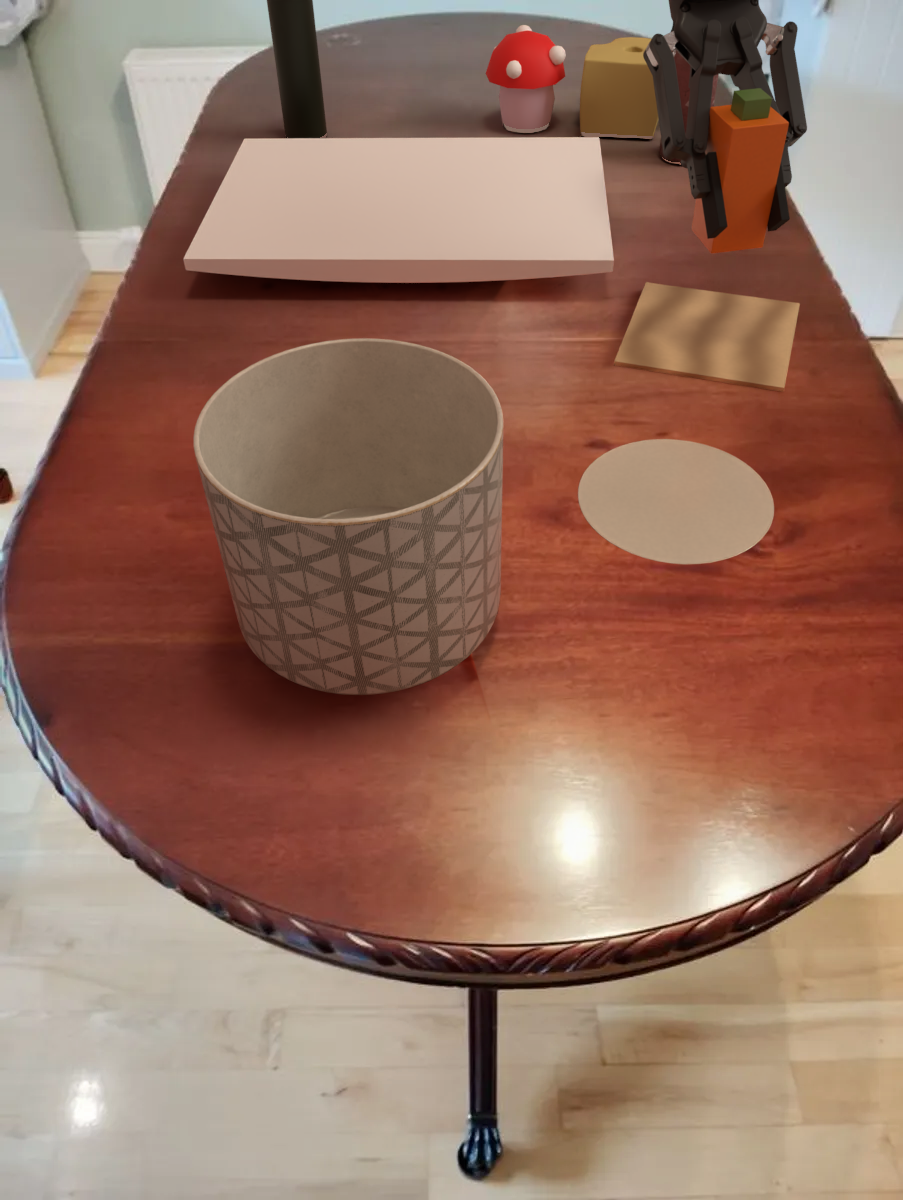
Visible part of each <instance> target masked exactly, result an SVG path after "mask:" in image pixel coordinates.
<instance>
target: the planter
mask: <svg viewBox="0 0 903 1200" xmlns="http://www.w3.org/2000/svg"><path fill="white" fill-rule="evenodd" d="M504 424H505V423H504V414H503V409H502V405H501V402H500V400H499V397H498V395H497V394H496V392H495V390H494V388H493V387H492V386H491V384H489V382H488V381H487V380H486V379H485V378H484V377H483V376H482V375H481V374H480V373H479V372H478V371H477V370H475V369H474V368H473V367H471V366H470V365H468V364H467V363H465V362H464V361H462V360H460V359H458V358H456V357H454V356H452V355H451V354H448V353H446V352H443V351H441V350H438V349H436V348H432V347H429V346H425V345H422V344H418V343H413V342H409V341H403V340H397V339H396V340H395V339H387V338H371V337H370V338H367V337H363V338H362V337H361V338H343V339H342V338H341V339H332V340H325V341H320V342H314V343H308V344H305V345H301V346H300V345H299V346H296V347H292V348H290V349H286V350H283V351H281V352H278V353H275V354H272V355H270V356H268V357H265V358H263V359H260V360H259V361H257V362H255V363H252V364H251V365H249V366H247V367H246V368H244V369H242V370H240V371H239V372H238V373H236V374H235V375H233V376H231V378H229V379H228V380H227V381H226V382H225V383H224V384H222V385H221V386H220V387H219V388H217V390H216V391H215V392H214V393H213V394H212V395H211V396H210V398H209V399H208V400H207V402H206V403H205V405H204V406H203V408H202V409H201V411H200V412H199V415H198V417H197V419H196V423H195V426H194V431H193V452H194V457H195V461H196V464H197V469H198V472H199V477H200V479H201V484H202V487H203V492H204V496H205V500H206V503H207V506H208V510H209V515H210V518H211V522H212V527H213V530H214V535H215V538H216V542H217V545H218V549H219V553H220V557H221V561H222V566H223V568H224V572H225V576H226V580H227V584H228V587H229V588H228V589H229V592H230V595H231V600H232V603H233V607H234V610H235V615H236V619H237V621H238V622H237V623H238V626H239V629H240V632H241V635H242V637H243V639H244V640H245V642H246V644H247V645H248V647H249V648H250V650H251V652H252V653H253V654H254V655H255V656H256V657H257V658H258V660H260V662H262V664H264V665H265V666H266V667H267V668H269V669H270V670H272V671H273V672H275V674H277V675H278V676H281V677H282V678H284V679H286V680H288V681H290V682H292V683H295V684H298V685H300V686H303V687H306V688H307V689H311V690H315V691H319V692H324V693H330V694H336V695H347V696H370V695H380V694H381V695H382V694H388V693H394V692H398V691H402V690H407V689H411V688H413V687H416V686H420V685H423V684H426V683H427V682H430V681H432V680H434V679H437V678H439V677H440V676H442V675H444V674H446V673H447V672H449V671H451V670H452V669H454V668H455V667H457V666H458V665H460V664H461V663H462V662H464V661H465V660H466V659H467V658H468V657H469V656H470V655H472V654H473V653H474V652H475V651H476V650H477V649H478V648H479V646H480V645H482V643H483V642H484V640H485V639H486V637H488V635H489V633H490V631H491V629H492V627H493V625H494V623H495V621H496V618H497V615H498V613H499V608H500V604H501V594H502V593H501V591H502V589H501V588H502V541H503V539H502V536H503V535H502V533H503V532H502V531H503V480H504V477H503V475H504V426H505V425H504Z"/></svg>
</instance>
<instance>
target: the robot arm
mask: <svg viewBox="0 0 903 1200" xmlns="http://www.w3.org/2000/svg"><path fill="white" fill-rule="evenodd" d="M668 6H669V13H670V19H671V20H672V26H671V29H670V32H669V33H666V34H664V35H663V34H662V33H655V34H654V35H653V36H652V37H651V41H650V42H649V44H648V46H647V48H646V49H645V51H644V53H643V57H644V60H645V62H646V64H647V66H648V68H649V70H650V72H651V74H652V76H653V82H654V90H655V97H656V104H657V111H658V125H659V132H660V140H662V148H663V154H664V156H665V158H667V159H669V160H671V159H674V158H676V159H680V160H681V165H680V166H682V167H683V168H684V169H687V173H688V181H689V187H690V193H691V196H692V198H693V199H694V200H696V199H700V198H702V205H703V212H704V218H705V225H706V232H707V238H708V239H710V238H716V237H717V236H718V235H719V234H720V233H721V232H722V231H723V230H725V229H726V228H727V227H728V225H727V219H726V212H725V206H724V199H723V192H722V187H721V180H720V174H719V167H718V161H717V154H716V152H708V153H707V154H706V153H705V150H706V148H707V141H708V130H709V119H710V107H711V98H712V87H713V77H714V76H715V75H717V74H719V75H725V76H729V77H730V78H731V81H732V84H733V85H734V87H736V88H738V90H747V89H757V88H761V89H762V90H763V91H764V92H765V93H767V94H768V95H769V96H770V97H771V98H772V101H771V107H772V108H773V109H774V110H775V111H776V112H777V113H779V114H780V115H781V116H782V117H783V118H784V119H786V120H787V121H788V122H789V125H788V130H787V135H786V140H785V144H784V149H783V154H782V158H781V163H780V168H779V173H778V177H777V182H776V187H775V192H774V196H773V201H772V206H771V210H770V215H769V220H768V225H767V232H776V231H777V230H779V229H780V228H781V227H782V226H784V224H786V223H787V222H789V221H790V212H789V205H788V198H787V191H786V187H787V186H789V185H790V184H791V183H792V179H793V174H792V168H791V167H792V166H791V159H790V153H789V148H790V147H792V146H794V144H795V143H797V142H798V141H799V140H800V139H801V138H802V137H803V136H804V135H805V134H806V133H807V131H808V124H807V118H806V112H805V105H804V99H803V92H802V87H801V82H800V74H799V68H798V62H797V56H796V50H795V49H796V42H797V36H798V29H799V28H798V25H797V23H795V22H794V21H787V22H786V23H785V24H784V25H783V26H782V25H777V24H774V23H770V22H768V20H767V16H766V15H765V13H764V12H763V11H762V9H761V7H760V3H759V0H668ZM761 40H762V41H763V43H764V44H765V54H766V55H767V56H769V71H770V78H771V85H772V89H773V90H771V87H770V85H769V82H768V80H767V77H766V75H765V73H764V70H763V59H762V56H761V53H760V51H759V48H758V46H759V44H760V43H761ZM675 49H676V50H677V51H678V52H679V53H680V55H681V56H682V57H683V58H684V59H685V60H686V61H687V62H688V63H689V65H690V76H689V88H690V95H689V105H688V116H687V127H686V136H685V129H684V122H683V115H682V107H681V100H680V93H679V85H678V78H677V71H676V64H675V60H674V56H675V54H676V51H675ZM772 91H773V92H772Z"/></svg>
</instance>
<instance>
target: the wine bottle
mask: <svg viewBox="0 0 903 1200" xmlns="http://www.w3.org/2000/svg"><path fill="white" fill-rule="evenodd" d="M266 4H267V5H266V6H267V13H268V19H269V28H270V34H271V35H270V36H271V40H272V41H271V42H272V48H273V55H274V63H275V69H276V70H275V71H276V78H277V84H278V91H279V99H280V107H281V113H282V122H283V127H284V134H285V135H286V136H285V138H286V137H288V138H320V137H322V136H324V135H325V134H326V133H327V134H328V130H327V120H326V111H325V110H326V109H325V102H324V93H323V84H322V73H321V65H320V55H319V48H318V47H319V45H318V39H317V37H318V36H317V27H316V20H315V19H316V18H315V10H314V1H313V0H266Z"/></svg>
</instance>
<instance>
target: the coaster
mask: <svg viewBox="0 0 903 1200" xmlns="http://www.w3.org/2000/svg"><path fill="white" fill-rule="evenodd" d="M800 305H801V303H800V302H794V301H787V300H779V299H772V298H771V299H770V298H764V297H757V296H749V295H742V294H735V293H727V292H720V291H712V290H706V289H699V288H693V287H684V286H677V285H669V284H661V283H655V282H654V283H653V282H649V281H645V283H644V286H643V288H642V290H641V293H640V296H639V298H638V300H637V303H636V305H635V308H634V310H633V313H632V316H631V318H630V320H629V323H628V326H627V327H626V331H625V333H624V336H623V338H622V340H621V342H620V345H619V348H618V350H617V353H616V355H615V358H614V360H613V366H616V367H617V366H618V367H623V368H630V369H636V370H642V371H648V372H655V373H661V374H667V375H673V376H674V375H675V376H681V377H685V378H693V379H700V380H705V381H713V382H719V383H725V384H731V385H737V386H744V387H749V388H757V389H761V390H768V391H774V392H781V393H784V392H785V387H786V382H787V376H788V371H789V366H790V360H791V354H792V349H793V344H794V339H795V332H796V328H797V321H798V317H799V312H800Z"/></svg>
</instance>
